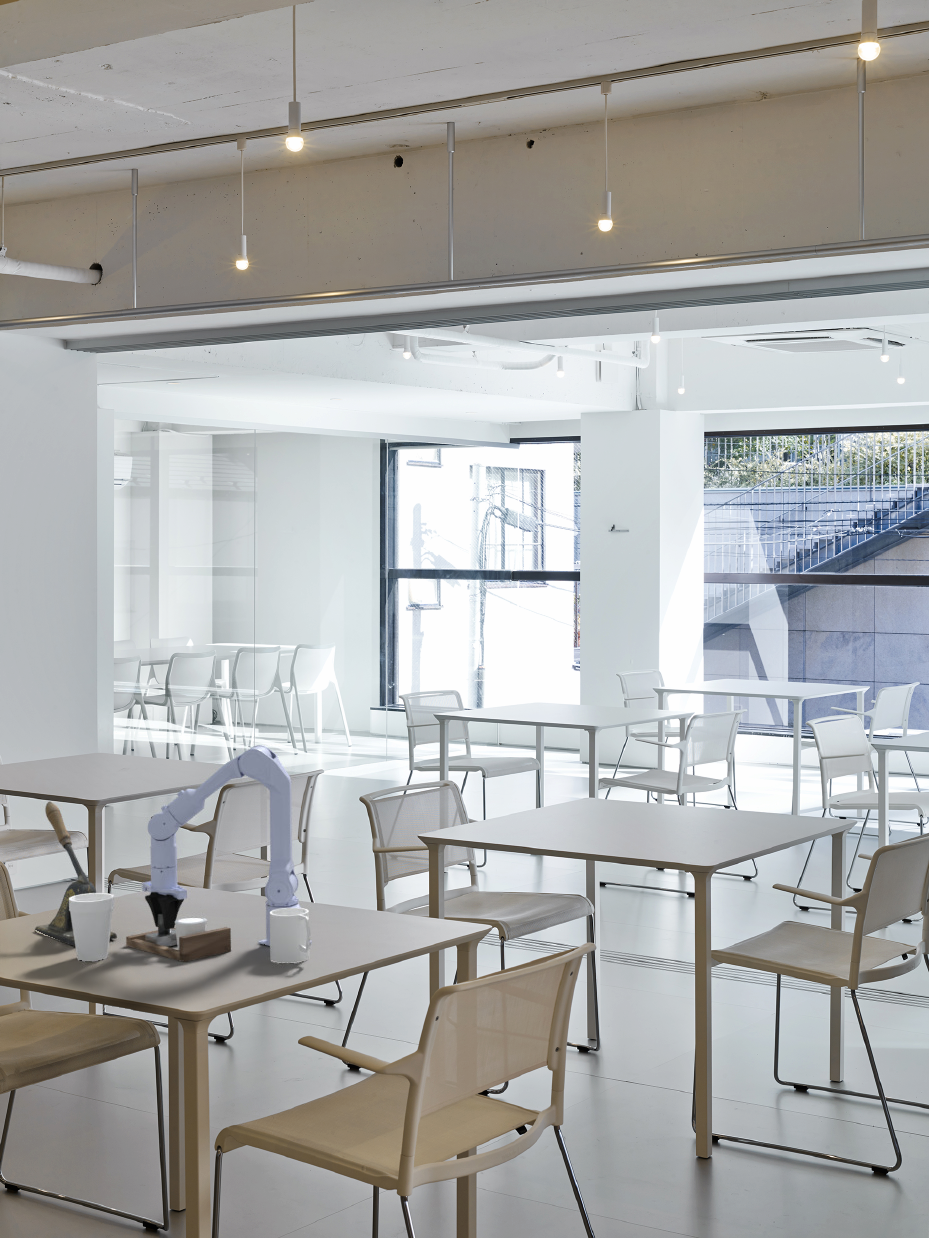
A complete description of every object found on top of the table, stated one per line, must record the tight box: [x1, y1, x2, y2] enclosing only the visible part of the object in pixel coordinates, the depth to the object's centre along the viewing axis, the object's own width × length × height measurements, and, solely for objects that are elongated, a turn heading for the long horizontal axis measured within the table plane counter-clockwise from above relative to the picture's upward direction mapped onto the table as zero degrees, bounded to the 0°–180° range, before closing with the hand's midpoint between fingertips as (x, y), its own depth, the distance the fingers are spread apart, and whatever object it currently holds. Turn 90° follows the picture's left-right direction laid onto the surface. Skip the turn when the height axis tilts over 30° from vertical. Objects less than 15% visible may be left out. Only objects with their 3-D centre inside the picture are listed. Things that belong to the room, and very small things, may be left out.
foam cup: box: [69, 892, 115, 962], centre depth 301 cm, size 10×9×13 cm
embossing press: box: [34, 801, 118, 947], centre depth 322 cm, size 11×24×30 cm, turn 38°
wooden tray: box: [125, 926, 232, 963], centre depth 308 cm, size 22×12×5 cm, turn 46°
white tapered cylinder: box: [174, 916, 208, 950], centre depth 305 cm, size 7×7×7 cm
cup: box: [269, 907, 311, 963], centre depth 296 cm, size 8×12×10 cm
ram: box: [145, 912, 177, 947], centre depth 311 cm, size 4×8×7 cm, turn 136°
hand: (164, 927), depth 312 cm, fingers closed on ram, 3 cm apart
